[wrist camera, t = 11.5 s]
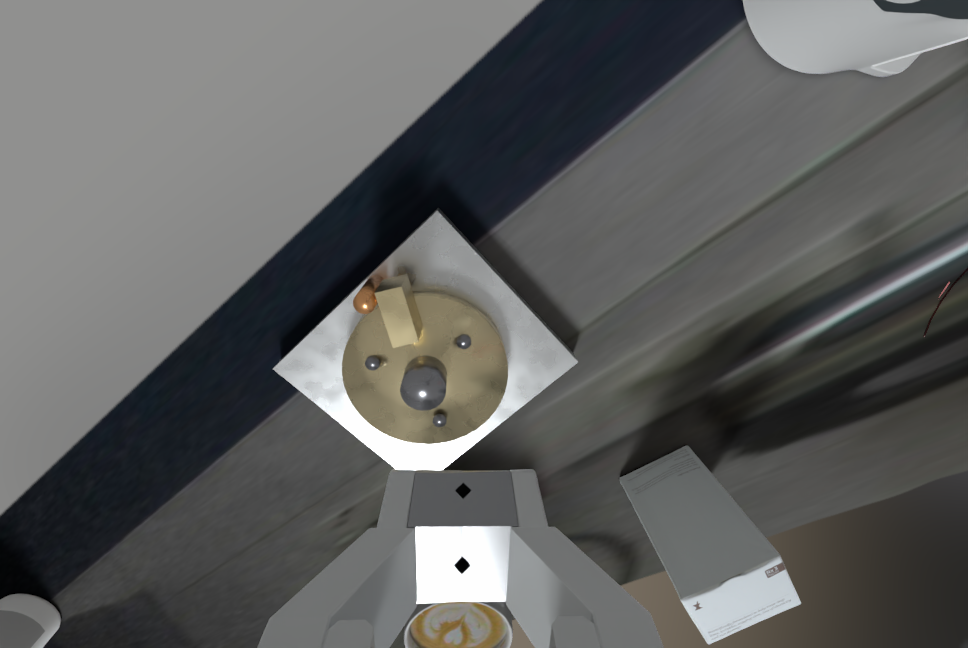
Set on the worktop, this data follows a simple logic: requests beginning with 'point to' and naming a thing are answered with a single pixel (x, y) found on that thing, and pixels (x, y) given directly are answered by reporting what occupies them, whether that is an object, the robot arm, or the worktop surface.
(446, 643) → the coffee mug
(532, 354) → the base plate
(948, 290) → the figurine
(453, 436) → the flange plate
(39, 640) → the white bottle
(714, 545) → the skincare box
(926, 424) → the worktop surface
